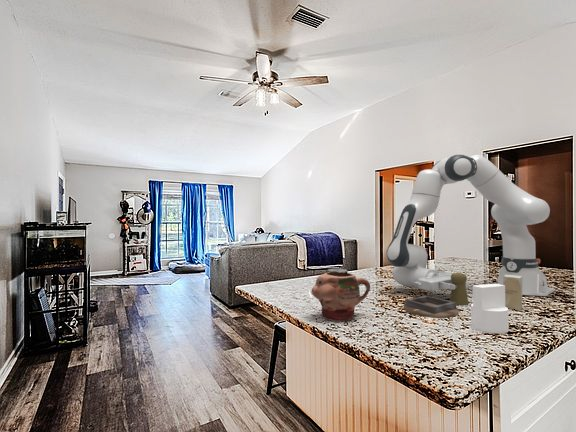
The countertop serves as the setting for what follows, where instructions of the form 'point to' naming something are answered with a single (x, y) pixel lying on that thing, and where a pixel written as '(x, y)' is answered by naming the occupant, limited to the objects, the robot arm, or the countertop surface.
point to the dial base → (431, 307)
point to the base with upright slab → (489, 309)
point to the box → (513, 291)
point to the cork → (459, 289)
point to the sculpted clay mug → (339, 294)
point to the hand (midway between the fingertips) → (461, 286)
